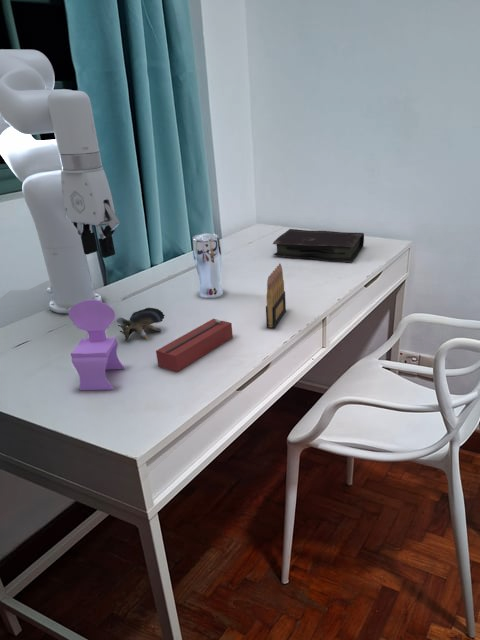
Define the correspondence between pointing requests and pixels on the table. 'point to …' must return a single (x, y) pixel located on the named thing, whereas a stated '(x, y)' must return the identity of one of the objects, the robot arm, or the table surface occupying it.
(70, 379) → the table surface
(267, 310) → the ammunition clip
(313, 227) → the table surface
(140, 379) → the table surface
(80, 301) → the robot arm
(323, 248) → the diary
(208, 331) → the pencil case
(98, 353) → the toy chair
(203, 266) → the beer glass
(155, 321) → the eagle figurine
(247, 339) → the table surface
